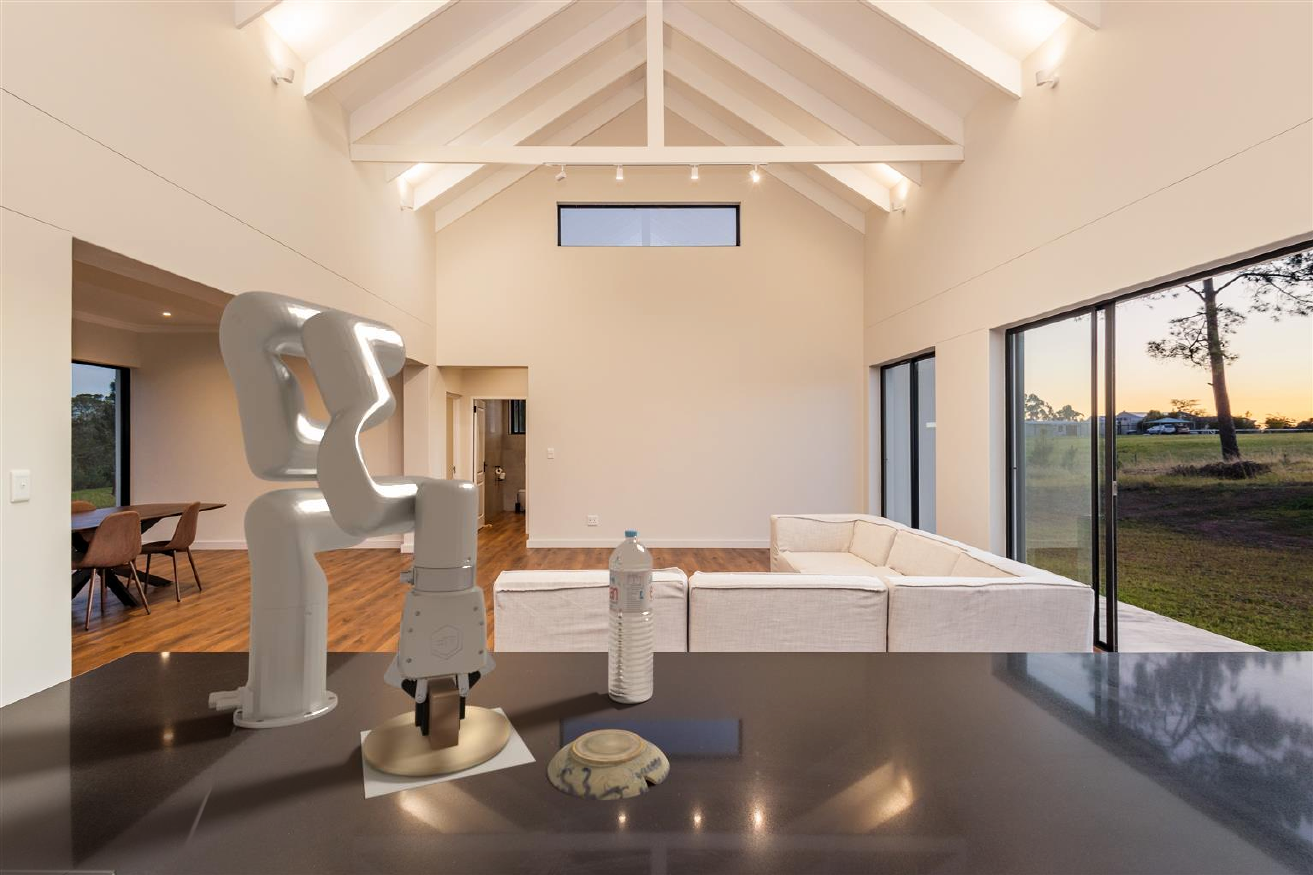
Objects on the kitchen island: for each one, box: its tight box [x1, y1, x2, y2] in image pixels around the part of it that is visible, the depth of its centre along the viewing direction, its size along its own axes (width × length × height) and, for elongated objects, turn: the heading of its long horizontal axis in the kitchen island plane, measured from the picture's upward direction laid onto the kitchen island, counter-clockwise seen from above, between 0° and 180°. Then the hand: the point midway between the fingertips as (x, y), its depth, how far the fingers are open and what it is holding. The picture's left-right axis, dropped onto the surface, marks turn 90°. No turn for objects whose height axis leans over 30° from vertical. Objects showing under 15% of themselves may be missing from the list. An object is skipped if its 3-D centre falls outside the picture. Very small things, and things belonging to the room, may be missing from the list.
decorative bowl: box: [546, 728, 671, 801], centre depth 71 cm, size 15×4×15 cm
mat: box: [359, 707, 537, 800], centre depth 76 cm, size 18×18×1 cm
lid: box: [363, 675, 511, 776], centre depth 77 cm, size 17×17×7 cm
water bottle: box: [607, 529, 654, 705], centre depth 95 cm, size 7×7×25 cm
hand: (439, 727), depth 77 cm, fingers closed on lid, 3 cm apart
